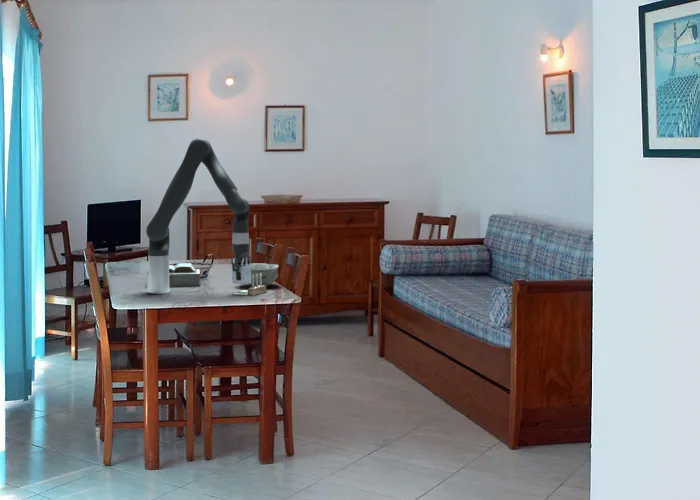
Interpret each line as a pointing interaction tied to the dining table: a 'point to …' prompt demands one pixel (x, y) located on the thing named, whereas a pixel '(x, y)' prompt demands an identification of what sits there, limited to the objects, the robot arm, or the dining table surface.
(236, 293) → the pad
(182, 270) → the grey rectangular bin
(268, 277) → the bowl
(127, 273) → the dining table surface
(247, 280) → the medicine box
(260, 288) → the pin strip
